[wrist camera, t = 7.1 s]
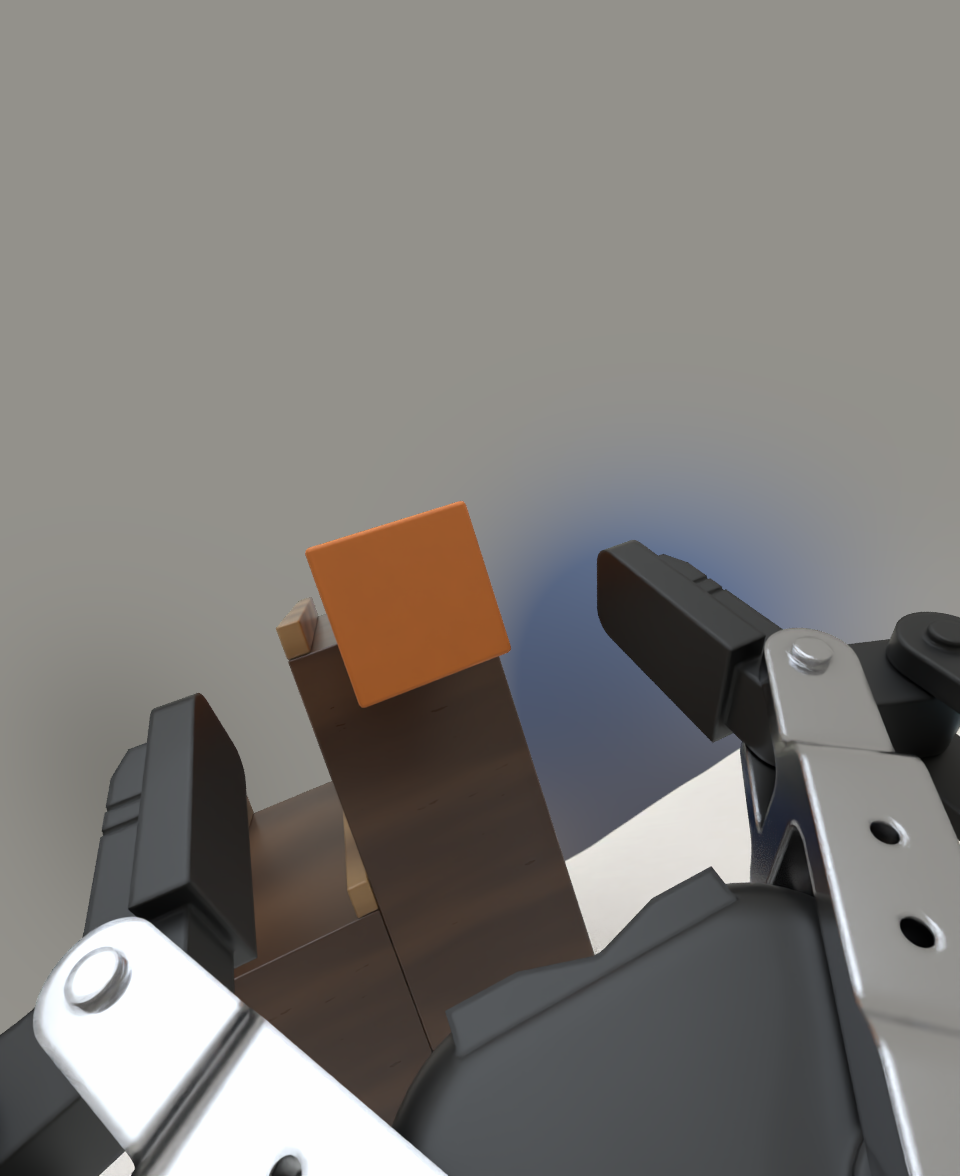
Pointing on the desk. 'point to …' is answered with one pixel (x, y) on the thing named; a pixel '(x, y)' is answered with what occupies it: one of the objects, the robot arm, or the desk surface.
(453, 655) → the orange block
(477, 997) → the robot arm
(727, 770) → the desk surface
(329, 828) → the display stand
